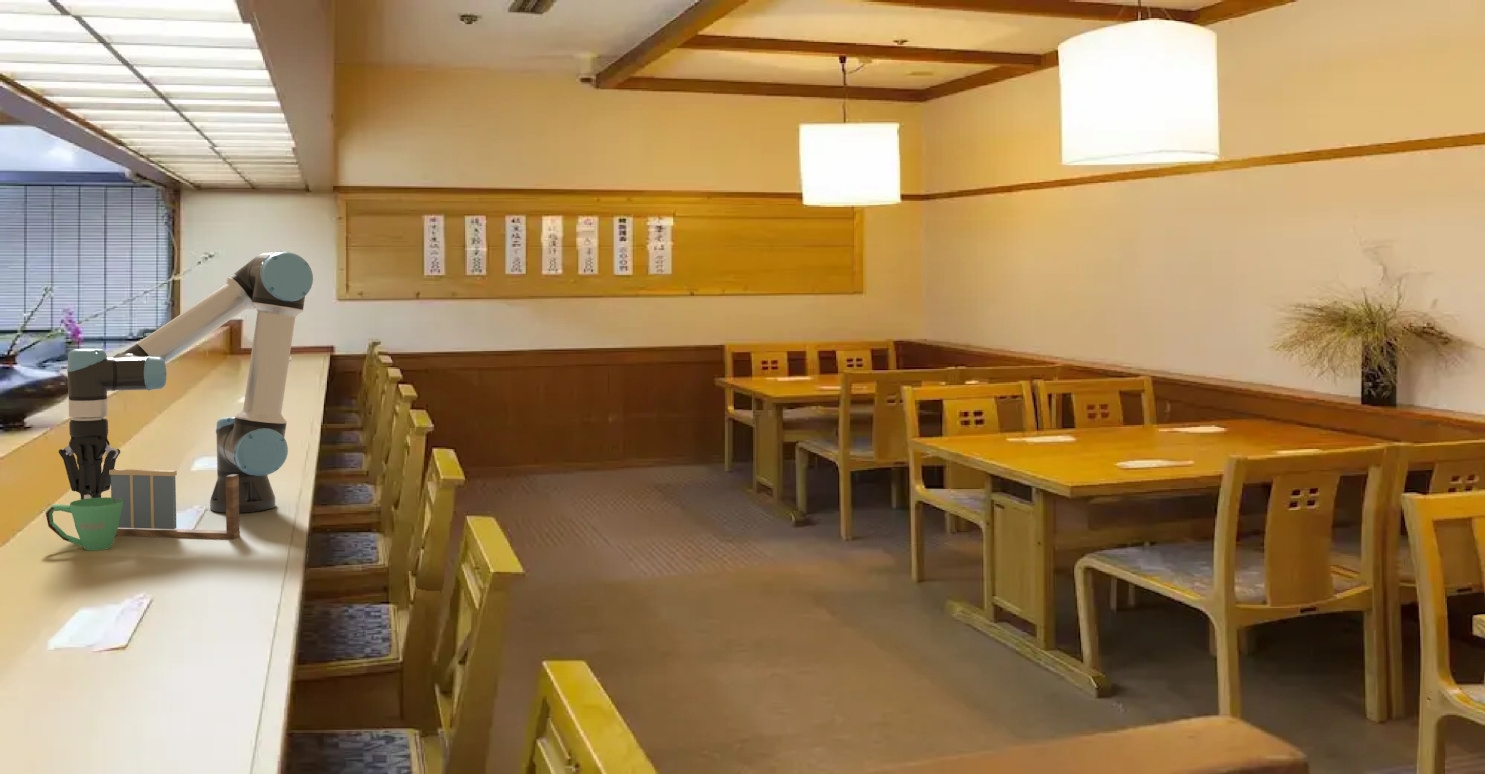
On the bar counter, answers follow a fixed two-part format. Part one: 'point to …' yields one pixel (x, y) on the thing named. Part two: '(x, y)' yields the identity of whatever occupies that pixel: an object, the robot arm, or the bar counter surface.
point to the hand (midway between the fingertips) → (91, 522)
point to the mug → (90, 521)
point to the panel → (145, 497)
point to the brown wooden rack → (229, 533)
